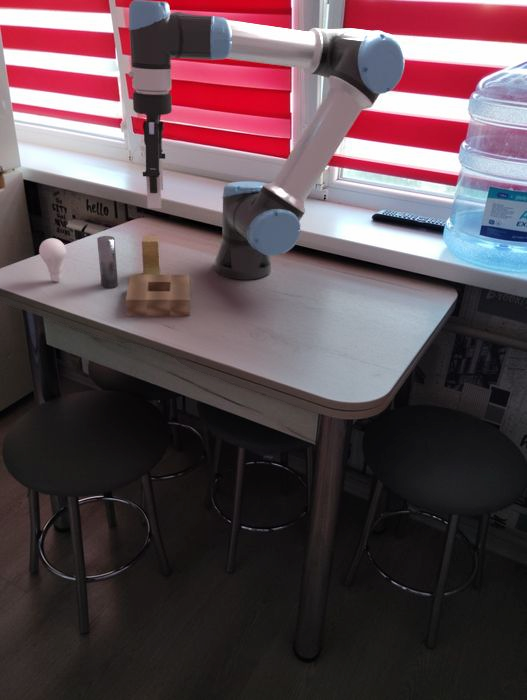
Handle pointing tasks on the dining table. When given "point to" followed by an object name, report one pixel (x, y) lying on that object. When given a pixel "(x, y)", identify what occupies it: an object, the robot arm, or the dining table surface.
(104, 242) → the cylinder
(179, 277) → the socket block
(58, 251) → the lightbulb
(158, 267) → the square bit
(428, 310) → the dining table surface
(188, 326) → the dining table surface
